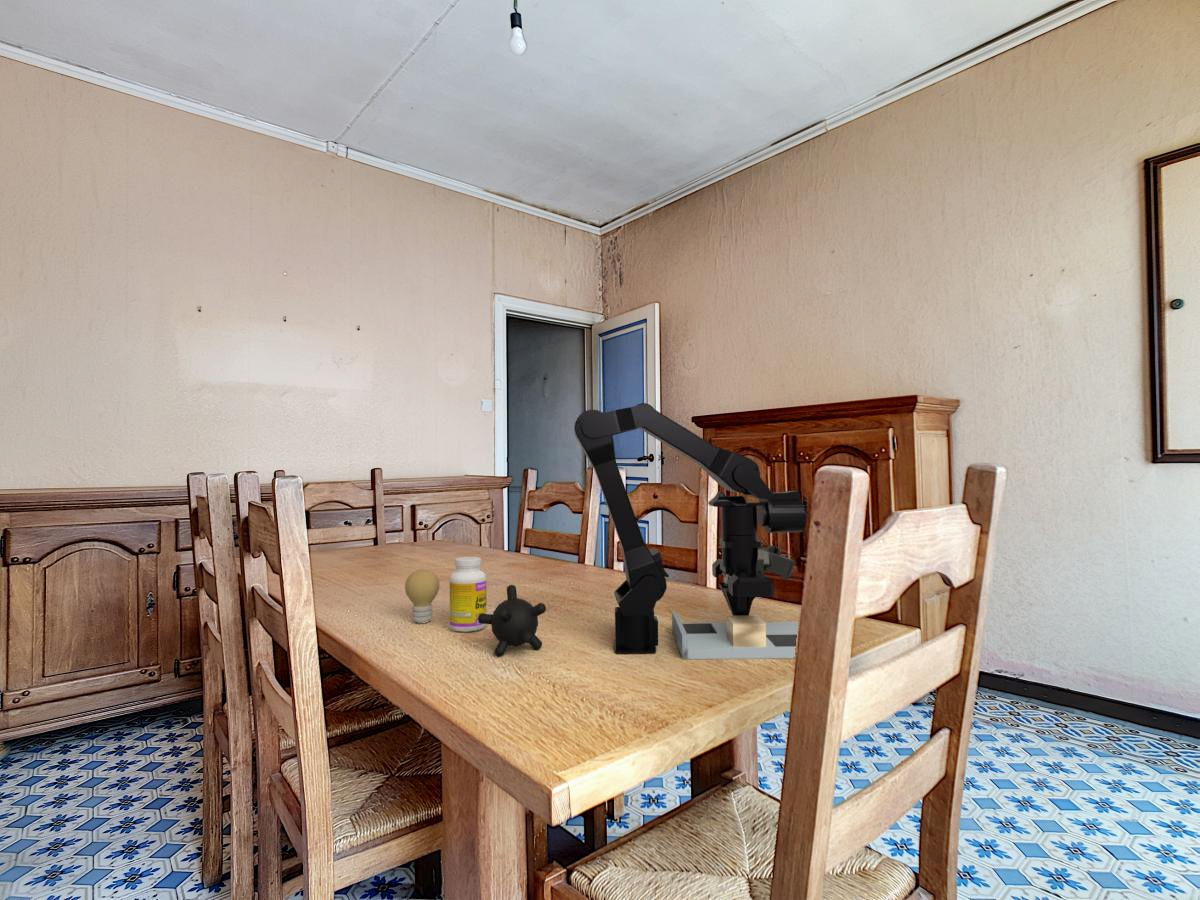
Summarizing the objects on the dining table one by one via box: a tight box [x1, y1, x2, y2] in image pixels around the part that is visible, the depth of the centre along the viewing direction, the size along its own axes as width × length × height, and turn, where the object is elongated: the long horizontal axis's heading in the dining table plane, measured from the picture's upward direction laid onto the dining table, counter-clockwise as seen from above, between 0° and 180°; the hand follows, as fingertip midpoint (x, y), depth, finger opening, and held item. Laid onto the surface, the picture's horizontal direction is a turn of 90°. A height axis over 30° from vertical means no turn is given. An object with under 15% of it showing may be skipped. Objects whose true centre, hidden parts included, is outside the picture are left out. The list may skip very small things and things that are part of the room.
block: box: [725, 614, 766, 647], centre depth 95 cm, size 5×5×4 cm
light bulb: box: [404, 569, 440, 623], centre depth 117 cm, size 6×6×10 cm
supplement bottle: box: [449, 556, 488, 632], centre depth 112 cm, size 7×7×13 cm
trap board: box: [671, 610, 798, 660], centre depth 99 cm, size 23×15×4 cm, turn 89°
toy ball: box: [478, 584, 547, 657], centre depth 98 cm, size 11×11×12 cm
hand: (741, 629), depth 99 cm, fingers closed
